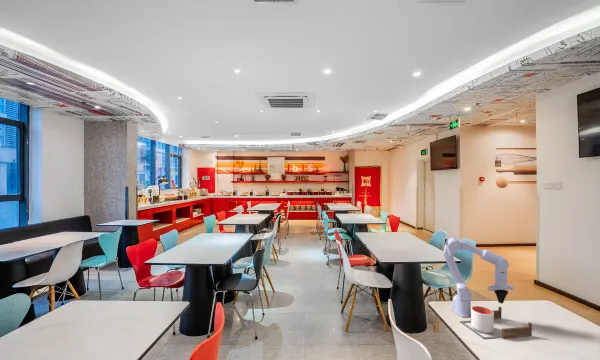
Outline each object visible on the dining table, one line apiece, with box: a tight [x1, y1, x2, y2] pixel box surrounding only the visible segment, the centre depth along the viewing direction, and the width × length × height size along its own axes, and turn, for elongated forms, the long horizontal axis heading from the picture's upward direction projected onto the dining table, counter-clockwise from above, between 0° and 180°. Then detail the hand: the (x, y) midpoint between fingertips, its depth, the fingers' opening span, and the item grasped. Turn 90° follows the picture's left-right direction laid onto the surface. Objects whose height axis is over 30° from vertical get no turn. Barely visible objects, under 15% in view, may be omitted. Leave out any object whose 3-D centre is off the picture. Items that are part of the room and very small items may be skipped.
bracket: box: [459, 320, 502, 340], centre depth 150 cm, size 17×10×1 cm, turn 9°
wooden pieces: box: [492, 306, 533, 340], centre depth 152 cm, size 19×16×6 cm
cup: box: [470, 305, 495, 334], centre depth 150 cm, size 10×10×10 cm
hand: (500, 302), depth 161 cm, fingers closed
